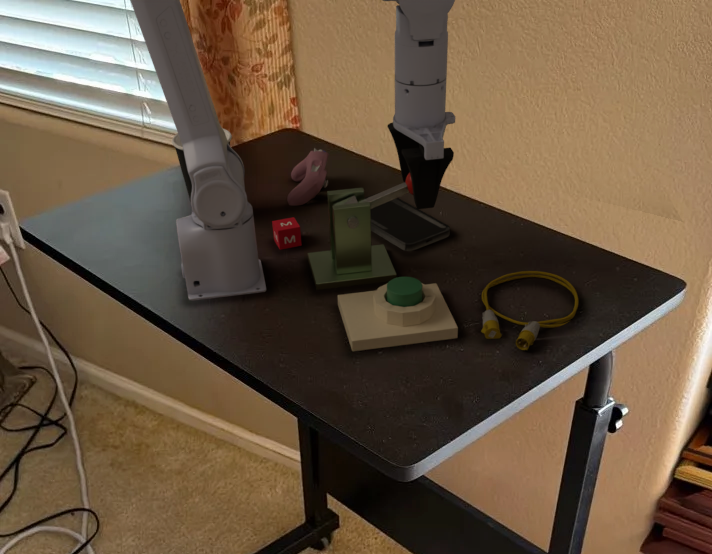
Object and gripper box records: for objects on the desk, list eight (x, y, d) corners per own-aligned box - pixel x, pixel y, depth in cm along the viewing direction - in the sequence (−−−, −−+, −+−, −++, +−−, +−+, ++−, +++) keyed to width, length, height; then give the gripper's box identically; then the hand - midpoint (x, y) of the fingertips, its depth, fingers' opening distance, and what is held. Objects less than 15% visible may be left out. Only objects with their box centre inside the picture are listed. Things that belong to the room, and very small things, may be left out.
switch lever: (431, 183, 107) (424, 159, 105) (438, 194, 105) (430, 170, 102) (340, 222, 108) (331, 199, 106) (344, 234, 106) (335, 211, 104)
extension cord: (437, 317, 103) (438, 302, 101) (525, 269, 110) (527, 254, 109) (518, 359, 96) (520, 344, 94) (606, 305, 103) (609, 290, 102)
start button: (390, 310, 98) (390, 296, 97) (383, 292, 101) (383, 278, 100) (425, 305, 99) (426, 292, 97) (417, 288, 102) (417, 274, 100)
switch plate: (352, 353, 98) (351, 327, 95) (338, 307, 105) (336, 281, 103) (457, 340, 99) (458, 313, 97) (436, 295, 106) (436, 269, 104)
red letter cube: (295, 237, 118) (294, 217, 116) (301, 247, 116) (300, 226, 114) (274, 242, 118) (272, 221, 116) (280, 252, 116) (277, 230, 114)
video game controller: (314, 218, 126) (333, 175, 122) (284, 205, 125) (303, 161, 120) (317, 188, 133) (336, 147, 129) (289, 176, 132) (307, 133, 128)
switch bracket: (383, 252, 115) (383, 179, 108) (396, 282, 109) (396, 208, 102) (307, 261, 114) (302, 188, 107) (316, 292, 108) (311, 217, 101)
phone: (385, 190, 125) (453, 228, 116) (385, 198, 126) (453, 236, 117) (339, 206, 122) (406, 246, 113) (340, 214, 123) (406, 254, 114)
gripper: (473, 96, 92) (467, 218, 101) (439, 53, 103) (436, 167, 112) (407, 102, 91) (406, 224, 100) (380, 59, 102) (381, 173, 111)
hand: (418, 195), depth 106 cm, fingers open, 6 cm apart
